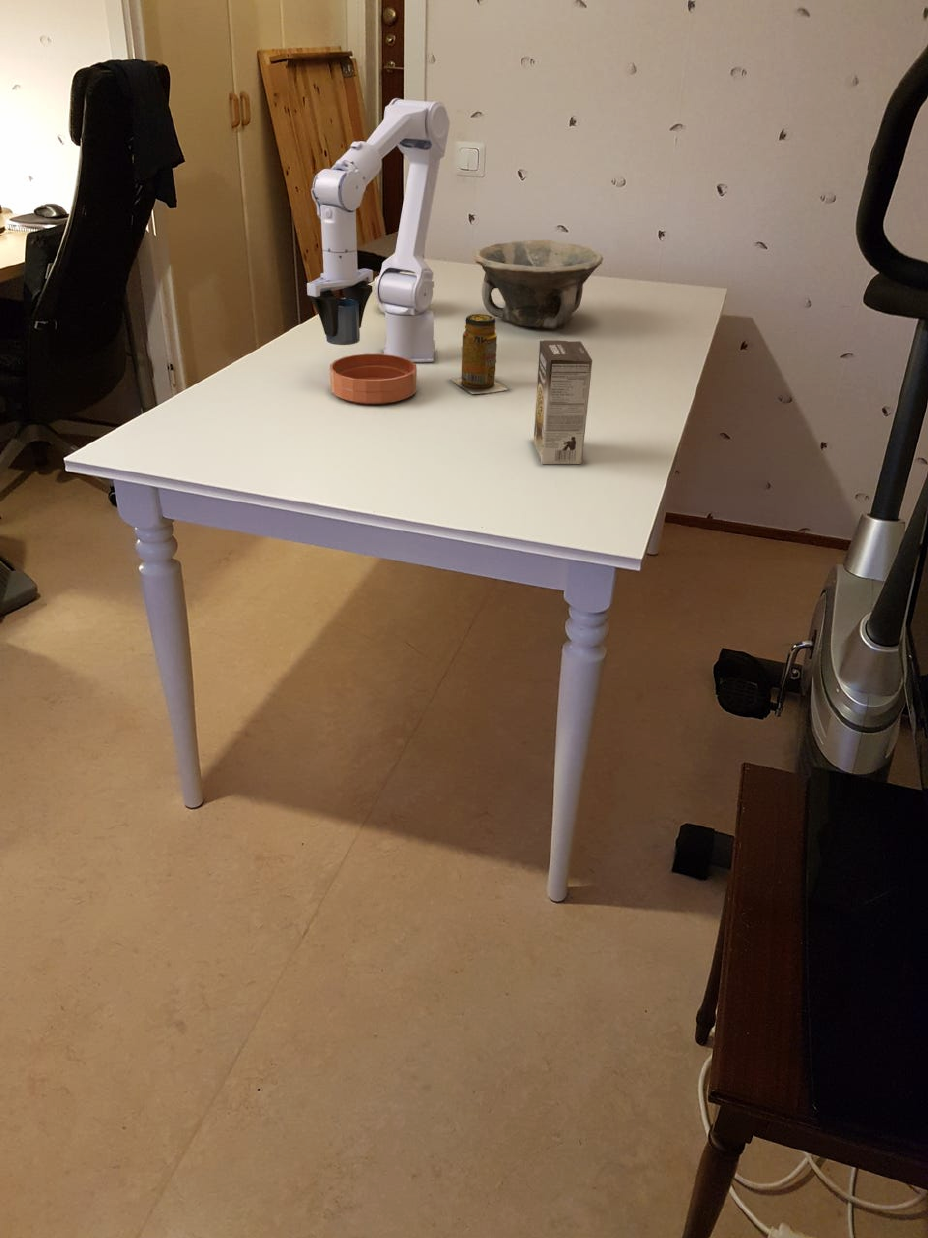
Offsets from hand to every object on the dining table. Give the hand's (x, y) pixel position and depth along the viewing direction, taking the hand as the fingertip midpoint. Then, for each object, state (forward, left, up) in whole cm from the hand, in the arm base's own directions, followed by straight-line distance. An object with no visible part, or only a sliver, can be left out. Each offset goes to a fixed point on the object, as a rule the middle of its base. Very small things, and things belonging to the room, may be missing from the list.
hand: (343, 330), depth 164 cm
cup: (0, 0, -2) cm, 2 cm away
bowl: (-40, -40, -10) cm, 57 cm away
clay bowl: (-5, +4, -9) cm, 12 cm away
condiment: (-24, +1, -10) cm, 26 cm away
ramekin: (-12, -49, -10) cm, 51 cm away
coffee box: (-33, +32, -10) cm, 47 cm away
